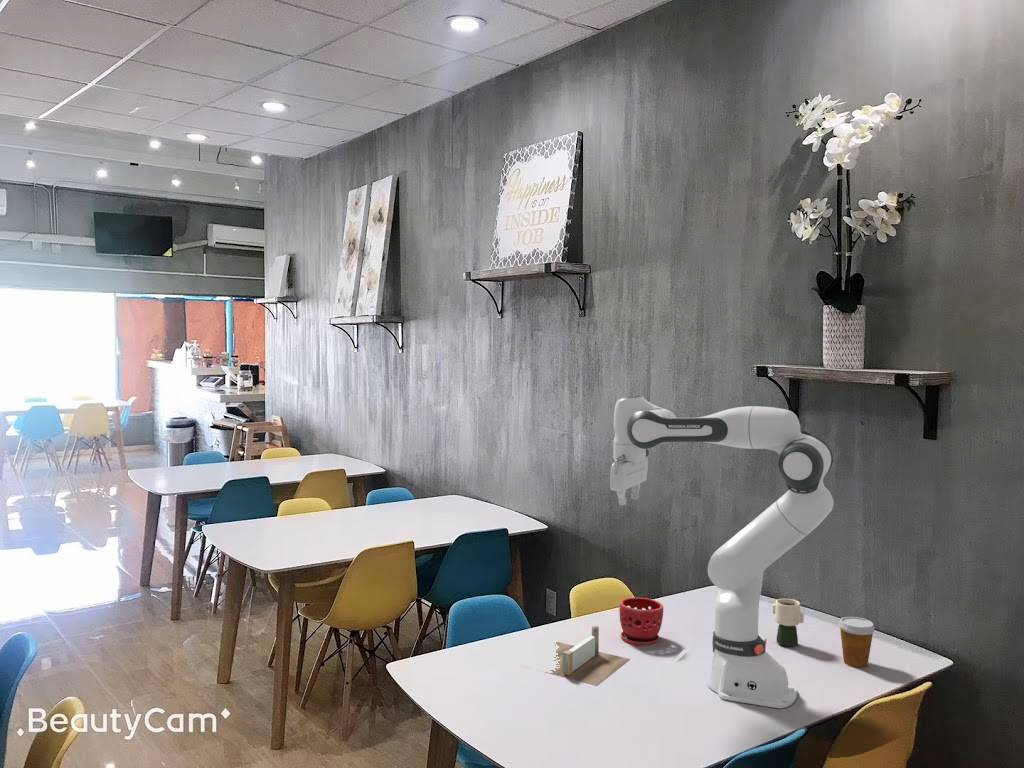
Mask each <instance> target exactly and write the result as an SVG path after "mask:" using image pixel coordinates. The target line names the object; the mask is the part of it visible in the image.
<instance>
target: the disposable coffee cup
mask: <svg viewBox="0 0 1024 768" xmlns="http://www.w3.org/2000/svg"><path fill="white" fill-rule="evenodd" d="M838 627H839V629H840V636H841V637H840V639H841V648H842V657H843V659H842V660H843V663H844V664H845V665H847V666H849V667H852V668H860V669H861V668H866V667H868V665H869V659H870V653H871V647H872V641H873V635H874V632H875V629H876V627H875V626H874V623H873V621H871V620H869V619H866V618H863V617H857V616H845V617H841V618H840V620H839V622H838Z"/></svg>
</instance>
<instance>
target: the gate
mask: <svg viewBox="0 0 1024 768" xmlns="http://www.w3.org/2000/svg"><path fill="white" fill-rule="evenodd" d="M573 646H574V647H573V648H571V649H570V650H566V651H564V652H563V664H562V674H566V675H570V674H571V673H572V672H573V671H574V670H576V669H577V668H578V667H580V666H581V665H583V664H584V663H585V662H587V661H588V660H589V659H591V658H592V657H594V656H595V636H592V635H589V636H588V637H586V638H585V639H583V640H582V641H580V642H579V643H578V644H575V645H573Z"/></svg>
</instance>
